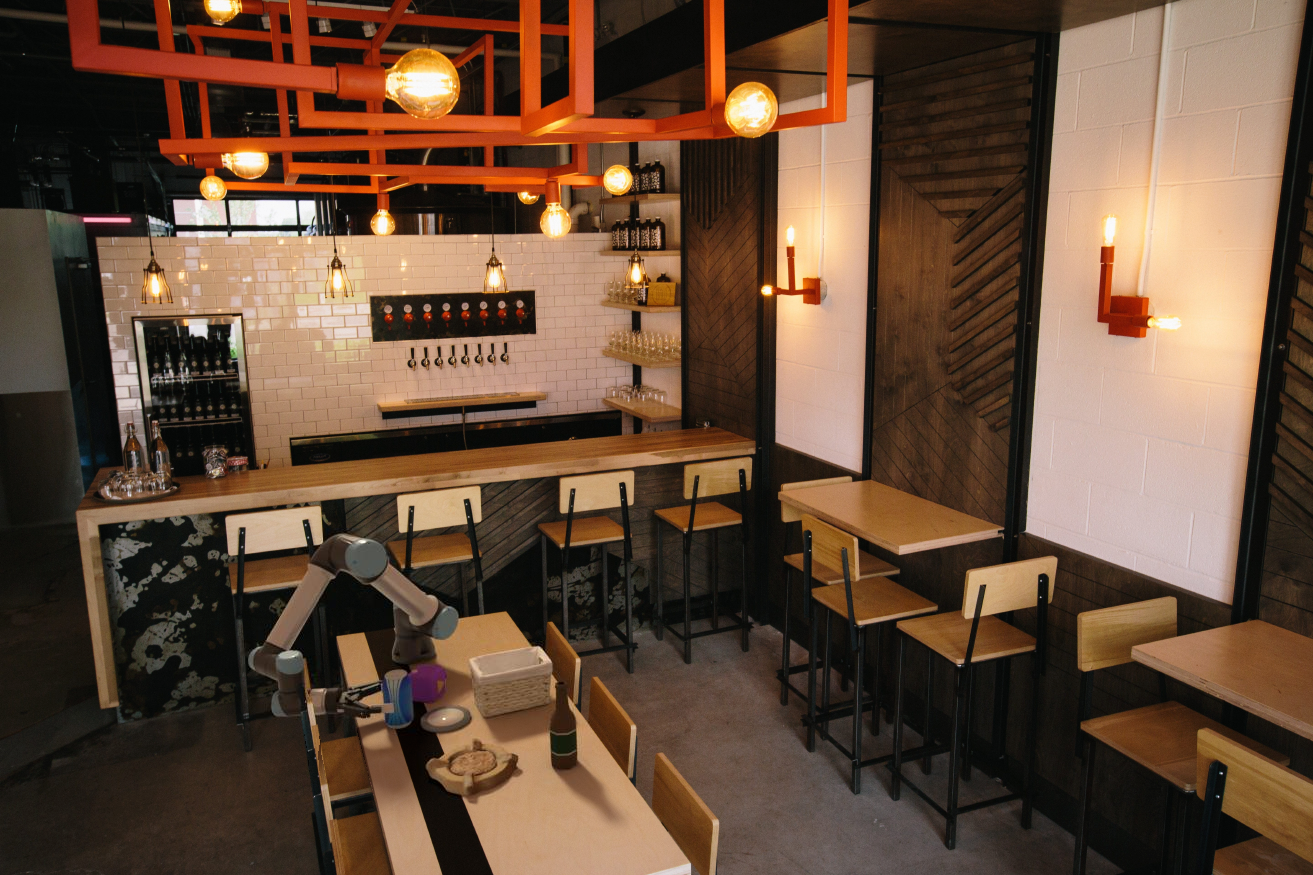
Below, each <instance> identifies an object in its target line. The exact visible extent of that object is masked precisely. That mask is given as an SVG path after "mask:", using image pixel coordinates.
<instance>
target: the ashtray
mask: <svg viewBox="0 0 1313 875" xmlns="http://www.w3.org/2000/svg"><path fill="white" fill-rule="evenodd" d="M518 762H519V755H518V754H517V753H516V754H515V753H512V752H510V753H509V752H508V751H507V750H506V749H504V748H503V747H501V746H498V745H494V744H489V743H482V741H481V739H478V738H473V737H472V741H471V744H466V745H465V744H464V745H460V746H457V747H455V748H453V749H451V750H448V751H447V752H445V753H444V754H443V755H441V757H439V758H435V757H433V758H431V759H430V760H429V761H427V763H426V765H425V769H426V770H427V773H428V774H429V777H430V778H431V779H433V780H436V781H438V782H439V783H440V784H441V785H442V786H443V787H444V789H445V790H446V792H449V793H452V794H456V795H460V796H461V795H462V796H473V795H477V794H480V793H482V792H485V791H487V790H490V789H493V788H496V787H498V786H500V785H501V784H503V783H505V782H506V781H507V780H509V779H510V778H511V777H512V775H513V774H514V772H515V771H516V768H517V765H518Z"/></svg>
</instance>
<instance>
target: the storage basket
mask: <svg viewBox="0 0 1313 875" xmlns="http://www.w3.org/2000/svg"><path fill="white" fill-rule="evenodd" d="M468 667H469V669H470V670H469V671H470V675H471V683H472V690H473V698H474V699H473V700H474V702H475V705H476V706H477V708H478V711H480V713H481V716H482V717H483V718H490V717H495V716H499V715H504V714H509V713H511V712H518V711H524V710H529V709H533V708H535V707H541V706H545V705H549V704H550V701H551V700H550V698H551V697H550V696H551V683H552V673H553V671H554V670H553V662H552V660H551V658H550V657H549V656H548V655H547V653H546V652H545V651H544V650H543V648H542V646H541V647H540V646H539V645H538V646H529V647H522V648H517V649H510V650H505V651H501V652H495V653H488V654H483V655H478V656H475V657H472V658H471V657H470V658H469V660H468Z"/></svg>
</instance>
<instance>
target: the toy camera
mask: <svg viewBox="0 0 1313 875" xmlns="http://www.w3.org/2000/svg"><path fill="white" fill-rule="evenodd" d="M407 675H408V676H409V677H410V679H411V689H412V702H419V703H425V704H433V703H434V702H435V701H437V700H438V699H439V698H440V697H441V696H442V695H443V694H445V692H446V690H447V689H446V681H447V678H448V673H447V670H446V669H445V668H444V667H443V666H442V665H440V664H433V665H431V664H420V665H419V666H417V667H415V668H414V669H413V670H412V671H410V672H409V673H407Z"/></svg>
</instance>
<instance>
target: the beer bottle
mask: <svg viewBox="0 0 1313 875" xmlns="http://www.w3.org/2000/svg"><path fill="white" fill-rule="evenodd" d="M568 688H569V684H568V682H567V681H565V680H560V681H556V682H555V684H554V689H555V707H554V708H555V709H554V711H553V712H552V714H551V717H550V719H549V720H550V722H549V742H550V743H549V744H550V760H551V761H550V762H551V763H550V764H551V767H552V768H554V769H556V770H558V771H566V770H571V769H573V768H575V767H576V766H577V765H578V740H577V739H578V735H577V734H578V733H577V732H578V731H577V718H576V716H575V713H574V712H573V710H571V708H570V704H569V694H568Z"/></svg>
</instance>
